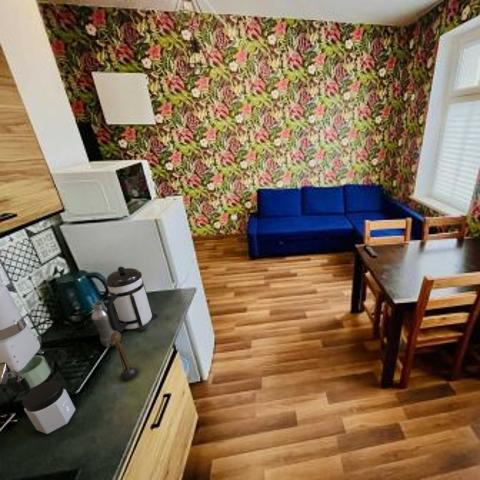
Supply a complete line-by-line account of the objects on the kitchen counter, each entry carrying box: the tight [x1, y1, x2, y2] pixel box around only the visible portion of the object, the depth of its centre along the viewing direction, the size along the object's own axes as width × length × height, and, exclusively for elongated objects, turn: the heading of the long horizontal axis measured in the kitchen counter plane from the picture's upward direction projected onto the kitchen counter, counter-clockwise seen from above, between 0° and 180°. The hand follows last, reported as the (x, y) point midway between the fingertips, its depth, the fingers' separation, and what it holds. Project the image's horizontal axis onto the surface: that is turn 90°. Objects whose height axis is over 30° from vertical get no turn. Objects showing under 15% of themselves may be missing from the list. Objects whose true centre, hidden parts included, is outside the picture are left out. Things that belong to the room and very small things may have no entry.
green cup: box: [10, 355, 52, 389], centre depth 75 cm, size 7×7×6 cm
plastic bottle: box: [91, 300, 119, 348], centre depth 108 cm, size 6×7×20 cm
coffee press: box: [104, 266, 157, 333], centre depth 116 cm, size 17×16×30 cm
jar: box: [21, 380, 76, 435], centre depth 80 cm, size 9×8×12 cm
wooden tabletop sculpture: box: [110, 331, 138, 382], centre depth 93 cm, size 6×5×20 cm
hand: (32, 377), depth 76 cm, fingers closed on green cup, 7 cm apart
